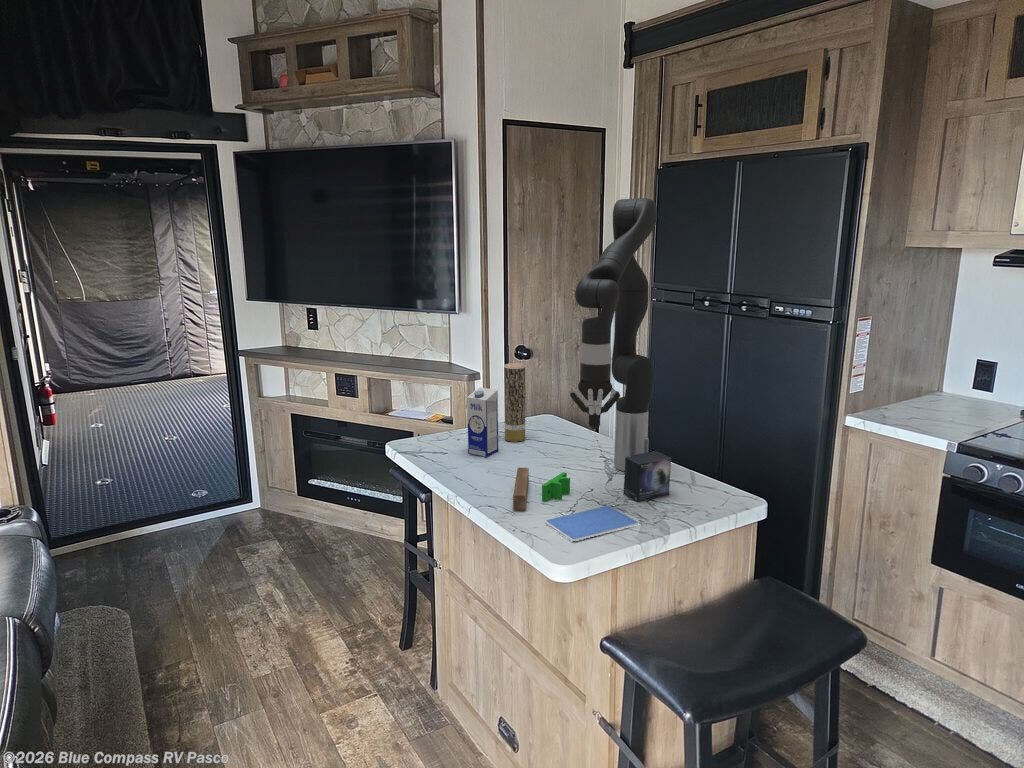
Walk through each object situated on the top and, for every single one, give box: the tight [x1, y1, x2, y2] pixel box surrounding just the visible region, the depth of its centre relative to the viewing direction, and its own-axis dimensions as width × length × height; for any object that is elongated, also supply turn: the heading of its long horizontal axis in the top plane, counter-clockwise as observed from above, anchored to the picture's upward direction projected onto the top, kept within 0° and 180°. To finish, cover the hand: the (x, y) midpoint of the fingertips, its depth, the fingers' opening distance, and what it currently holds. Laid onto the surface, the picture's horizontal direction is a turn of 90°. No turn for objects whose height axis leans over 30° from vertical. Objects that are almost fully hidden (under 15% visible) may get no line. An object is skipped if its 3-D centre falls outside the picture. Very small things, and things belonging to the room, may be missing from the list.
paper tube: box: [503, 362, 526, 443], centre depth 220 cm, size 7×7×25 cm
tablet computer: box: [544, 505, 640, 541], centre depth 159 cm, size 19×13×1 cm, turn 119°
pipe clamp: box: [541, 471, 571, 503], centre depth 176 cm, size 11×4×5 cm, turn 147°
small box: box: [623, 450, 672, 503], centre depth 175 cm, size 11×6×10 cm, turn 118°
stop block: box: [512, 467, 530, 512], centre depth 176 cm, size 3×20×4 cm, turn 176°
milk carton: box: [466, 386, 499, 458], centre depth 208 cm, size 7×7×20 cm
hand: (594, 428), depth 171 cm, fingers closed
